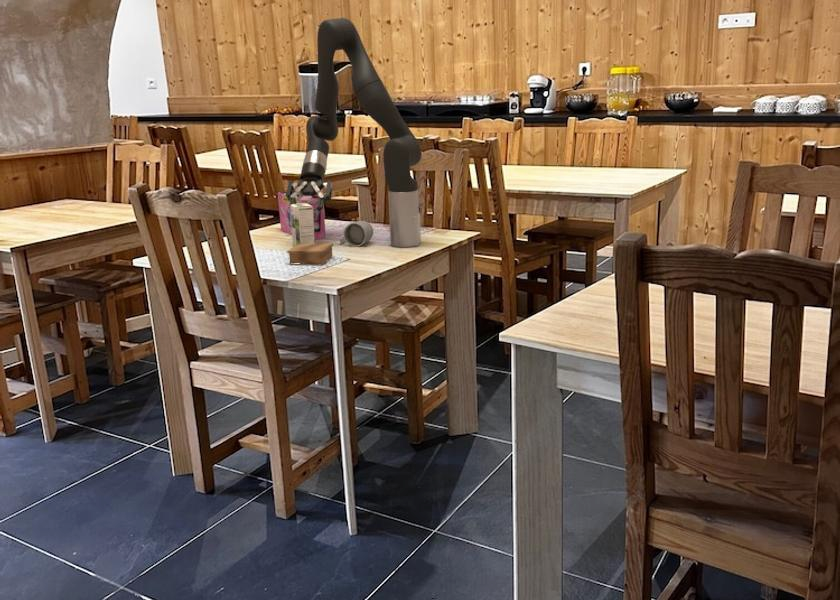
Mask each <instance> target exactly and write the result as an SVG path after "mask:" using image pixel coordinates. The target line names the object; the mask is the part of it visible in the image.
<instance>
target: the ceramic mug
mask: <svg viewBox="0 0 840 600" xmlns="http://www.w3.org/2000/svg"><path fill="white" fill-rule="evenodd" d="M373 237H374V228H373V226H372V224H371V223H370V222H368V221H365V220H358V221H354V222H350V223H349V224H347V225H346V226H345V227H344V229H343V237H341V238H339V243H340V245H342V244H345V243H347V244H348V245H349V246H350V247H353V248H358V247H359V248H360V247H361V246H363V245H365V244H366V243H368V242H370V240H372V238H373ZM344 242H345V243H344Z"/></svg>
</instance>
